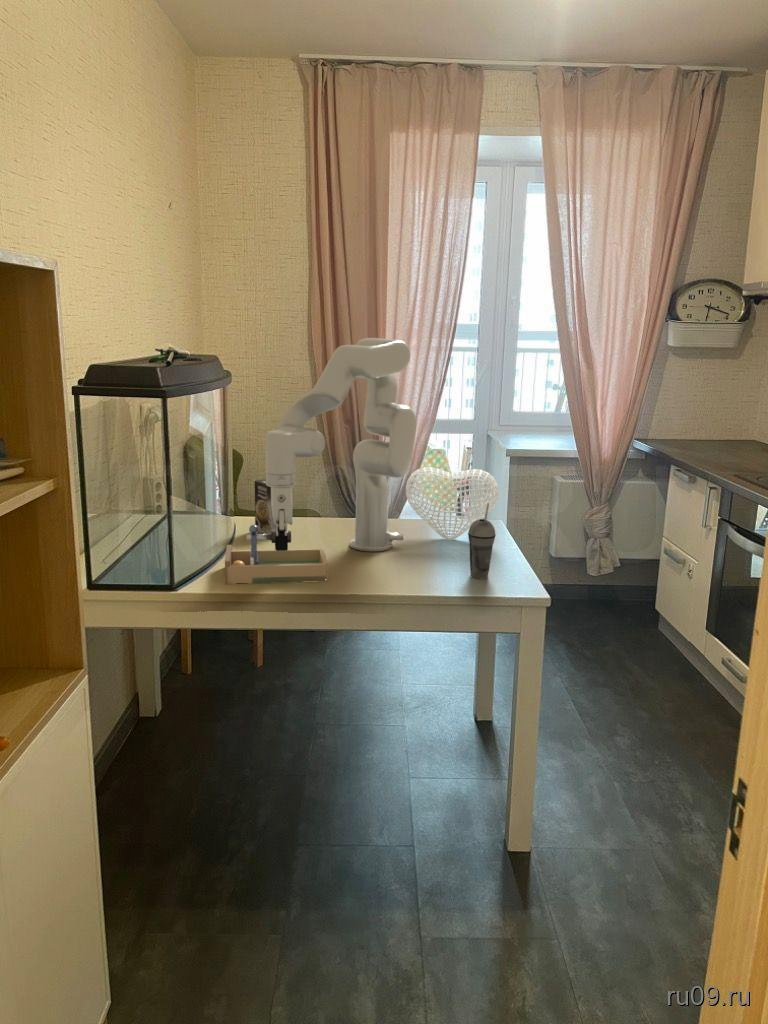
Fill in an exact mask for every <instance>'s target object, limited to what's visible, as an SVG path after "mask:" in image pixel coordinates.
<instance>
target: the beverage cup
mask: <svg viewBox="0 0 768 1024" xmlns="http://www.w3.org/2000/svg"><path fill="white" fill-rule="evenodd" d="M486 505H487V508H486V509H485V510H486V513H484V514H485V517H484V518H483V519H479V520H476V521H475V520H474V521H475V522H473V523H472V525H471V526H470V528H469V529H468V533H467V535H468V542H469V568H470V569H469V570H470V577H471V576H472V577H471V578H473V577H474V578H473V579H476V578H485V579H487V578H488V576H489V572H490V567H491V560H492V559H491V558H492V552H493V547H494V546H493V545H494V543H495V539H496V538H495V537H496V536H497V535H496V529H495V527H494V525H493V523H491V521H489V520H488V514H489V513H488V510H489V509H488V508H489V506H490V504H489V503H488V502H487V504H486ZM487 513H488V514H487ZM486 577H487V578H486Z"/></svg>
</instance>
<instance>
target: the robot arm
mask: <svg viewBox="0 0 768 1024" xmlns="http://www.w3.org/2000/svg"><path fill="white" fill-rule="evenodd" d="M410 360H411V349H410V347H409V345H407V343H406V342H405V341H403V340H399V339H393V338H392V339H391V338H381V337H380V338H378V337H366V338H361V339H360V340H358V341H357V342H356V344H344V345H340V346H338V347H336V349H335V350H334V352H333V353H332V355H331V357H330V359H329V360H328V362H327V363H326V366H325V367H324V370H323V371H322V373H321V375H320V377H319V378H318V380H317V382H316V384H315V385H314V387H313V388H312V389H311V390H310V391H308V392H306V393H305V394H304V395H303V396H301V397H300V398H299V399H298V400H296V401H295V402H293V403H292V404H291V405H290V407H288V409H287V410H286V412H285V413H284V414H283V416H282V418H281V419H280V421H279V422H278V424H277V427H276V429H273V430H270V431H268V432H267V433H266V434H265V477H266V478H265V479H266V485H267V486H269V487H271V507H272V517H273V523H274V524H275V525H276V535H275V543H274V549H275V550H276V551H285V550H288V549H289V548H288V547H289V544H288V535H287V531H288V525H290V526H291V525H293V487H295V486H296V485H297V483H296V481H297V479H296V478H297V476H296V474H297V472H296V471H297V469H296V468H297V467H296V465H297V464H296V460H297V458H305V459H306V458H308V459H309V458H315V457H317V456H319V455H321V453H322V452H323V451H324V450H325V447H326V439H325V436H324V435H323V433H321V432H320V431H319V430H317V429H314V428H310V427H304V426H306V424H307V423H308V422H309V421H310V420H311V419H313V418H314V417H317V416H318V415H321V414H323V413H326V412H330V411H332V410H334V409H336V408H339V407H340V406H341V405H342V404H343V403H344V401H345V399H346V398H347V395H348V394H349V391H350V390H351V388H352V386H353V384H354V383H355V381H356V379H366V381H367V391H366V392H367V393H366V399H365V407H364V413H363V414H364V415H363V428H364V429H365V431H366V432H367V433H369V434H372V435H374V436H381V437H384V438H389V441H384V440H379V439H373V438H372V439H363V440H361V441H359V442H357V444H356V445H355V447H354V450H353V453H352V462H353V467H354V472H355V527H354V528H355V531H354V533H355V535H354V538H352V539H350V540H349V546H350V548H352V549H354V550H356V551H362V552H370V553H371V552H374V553H375V552H382V551H387V550H389V549H391V548H392V547H393V541H404V534H403V533H398V532H390V531H389V529H388V528H389V525H388V524H389V522H388V521H389V499H390V498H389V497H390V496H389V495H390V489H389V482H388V480H387V479H388V478H387V477H390V478H402V477H404V476H405V475H406V474H408V472H409V469H410V467H411V464H412V458H413V454H414V453H413V452H414V446H415V439H416V432H417V417H416V414H415V412H414V410H413V409H412V408H411V407H410V406H408V405H405V404H398V403H397V400H398V399H397V398H398V380H397V377H396V375H395V374H397V373H399V372H401V371H403V370H404V369H406V367H407V366H408V365H409V363H410Z"/></svg>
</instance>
